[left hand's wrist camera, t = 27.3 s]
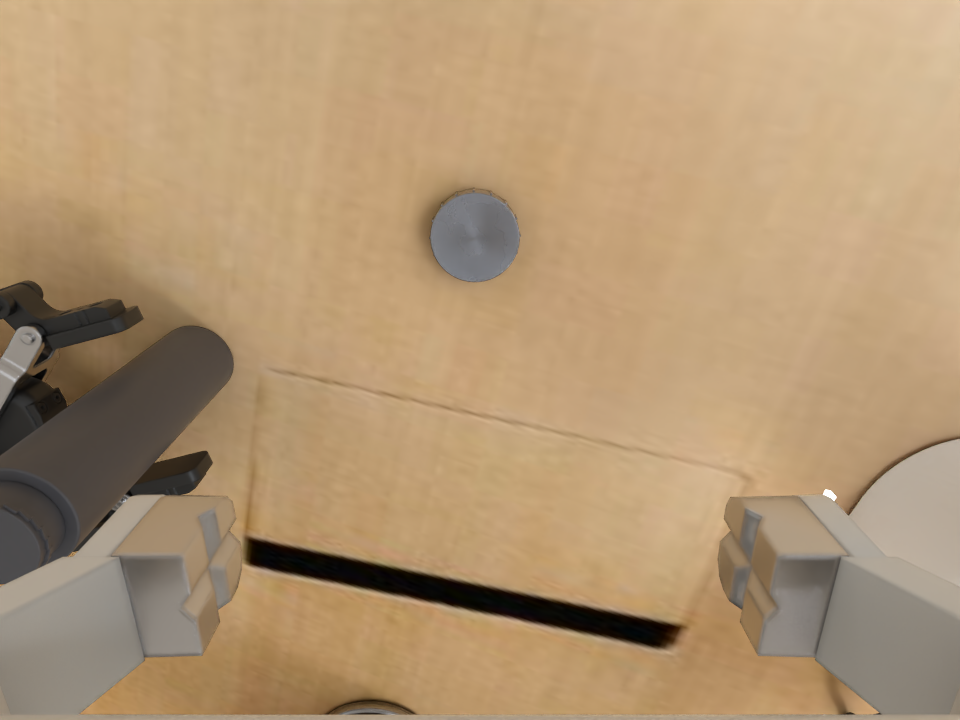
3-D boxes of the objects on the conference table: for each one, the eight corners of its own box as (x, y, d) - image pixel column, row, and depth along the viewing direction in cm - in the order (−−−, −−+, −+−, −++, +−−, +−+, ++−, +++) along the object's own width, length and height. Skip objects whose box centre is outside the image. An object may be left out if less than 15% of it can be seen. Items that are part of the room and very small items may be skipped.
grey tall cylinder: (213, 405, 39) (26, 614, 23) (148, 367, 38) (-96, 557, 22) (246, 352, 38) (74, 533, 21) (180, 311, 37) (-54, 469, 20)
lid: (438, 181, 34) (436, 184, 32) (525, 196, 34) (528, 200, 33) (425, 267, 36) (423, 275, 34) (509, 281, 36) (511, 289, 35)
